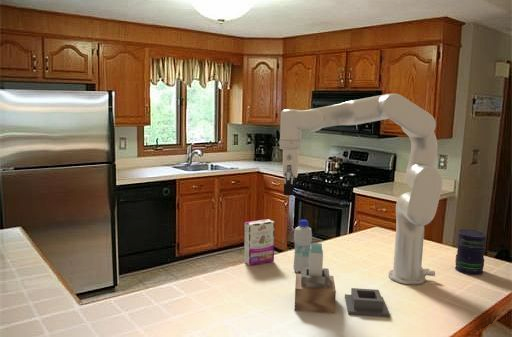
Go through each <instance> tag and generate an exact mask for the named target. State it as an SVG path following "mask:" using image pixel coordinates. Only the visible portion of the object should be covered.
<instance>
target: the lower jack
mask: <svg viewBox="0 0 512 337" xmlns="http://www.w3.org/2000/svg"><path fill="white" fill-rule="evenodd" d="M350 291H351V292H350V294H346V293H345V294H344V301H345V305H346V309H347V313H348V315H353V316H363V317H365V316H366V317H377V318H378V317H380V318H390V317H391V314H390V311H389V308H388V306H387V304H386V302H385V299H384V297H383V296H382V295H381V292H380V290H379V289H371V288H355V287H354V288H353V287H351V290H350Z"/></svg>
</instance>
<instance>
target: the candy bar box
mask: <svg viewBox="0 0 512 337" xmlns="http://www.w3.org/2000/svg"><path fill="white" fill-rule="evenodd" d="M243 245H244V254H243V255H244V259H243V260H244V263H245V264H247V265H248V266H255V265H260V264H261V265H262V264H267V263H272V262H274V261H275V221H274V220H271V219H269V218H268V219H267V218H266V219H260V220H253V221H245V222H244V244H243Z"/></svg>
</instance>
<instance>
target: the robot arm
mask: <svg viewBox="0 0 512 337" xmlns="http://www.w3.org/2000/svg"><path fill="white" fill-rule="evenodd" d="M382 120H385V121H386V120H390V121H392V122H394V123H395V124H396V125H397V126H400V127H401V130H402V132H404V134H406V135H407V136H408V138H409V140H410V143H411V144H410V145H411V146H410V148H411V149H410V155H409V158H408V164H407V168H406V172H405V176H404V177H405V183H406V184H407V186H408V187H410V188H411V191H407V192H404V193H402V194H400V196H399V197H398V198H397V201H396V204H395V219H396V225H395V226H396V227H395V228H396V229H395V237H394V238H395V242H394V256H393V269H392V270H390V271H389V272H388V277H389V279H391V280H392V281H394V282H397V283H399V284H404V285H421V284H423V283H425V282H426V276H429V277H436V271H435V270H430V268H423V267H422V265H423V264H422V262H423V253H424V252H423V251H424V250H423V249H424V238H425V226H427V225H429V224H430V223H431V222H432V221H433V219H434V218H435V216H436V214H437V210H438V207H439V202H440V197H441V193H442V190H443V189H442V188H443V177H442V174H441V172H440V171H439V170H438V169H437V168H435V165H436V160H437V154H438V139H437V137H436V136H437V135H436V133H435V129H436V127H437V124H436V123H437V122H436V120H435V118H434V116H433V115H432V114H430V113H429V112H428V111H427V110H425V109H423V108H421V107H420V106H419V105H417V104H415V103H414V102H412V101H411V100H409V98H406V97H404V96H403V95H401V94H399V93H385V94H381V95H375V96H371V97H370V96H369V97H364V98H359V99H353V100H352V99H351V100H348V101H345V102H341V103H337V104H332V105H327V106H322V107H317V108H310V109H306V110H300V109H288V108H287V109H286V108H285V109H283V110H281V112H280V124H279V125H280V127H279V128H280V130H279V131H280V133H279V134H280V135H279V149H280V150H282V176H283V178H284V183H283V195H284V196H293V195H294V190H295V182H296V181H295V178H296V179H297V177H298V176H299V151H300V150H302V136H303V135H302V130H304V131H307V132H318V131H320V130H321V129H323V128H329V127H336V126H337V127H338V126H356V125H363V124H367V123H373V122H377V121H382Z"/></svg>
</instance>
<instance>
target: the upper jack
mask: <svg viewBox="0 0 512 337" xmlns="http://www.w3.org/2000/svg"><path fill="white" fill-rule="evenodd" d="M329 270H330V269H329V268H327V267H326V268H325V267H322V276H309V267H302V272H300V273H295V284H294V285H295V288H294V309H293V310H294V311H295V312H308V313H309V312H311V313H320V314H321V313H324V314H325V313H326V314H335V313H336V299H337V298H336V297H337V296H336V295H337V294H336V293H337V289H336V284H335V279H334V275H330V271H329Z"/></svg>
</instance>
